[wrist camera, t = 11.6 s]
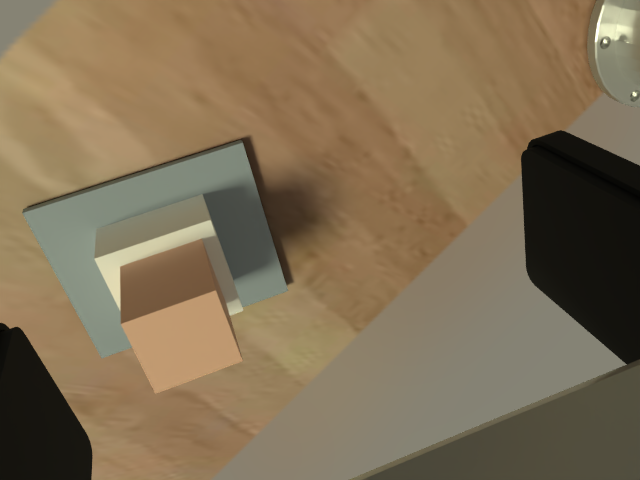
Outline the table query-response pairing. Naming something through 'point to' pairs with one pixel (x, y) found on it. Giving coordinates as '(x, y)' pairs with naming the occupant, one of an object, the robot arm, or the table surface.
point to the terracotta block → (176, 316)
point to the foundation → (159, 235)
